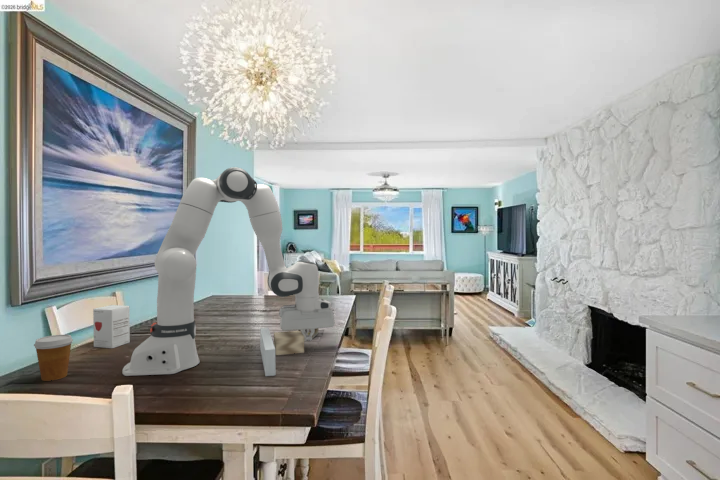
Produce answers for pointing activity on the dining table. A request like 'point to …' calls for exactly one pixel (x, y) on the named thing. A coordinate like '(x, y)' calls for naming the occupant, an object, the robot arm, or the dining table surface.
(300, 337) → the maple block
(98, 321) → the supplement box
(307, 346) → the dining table surface
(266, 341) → the board
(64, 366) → the disposable coffee cup
